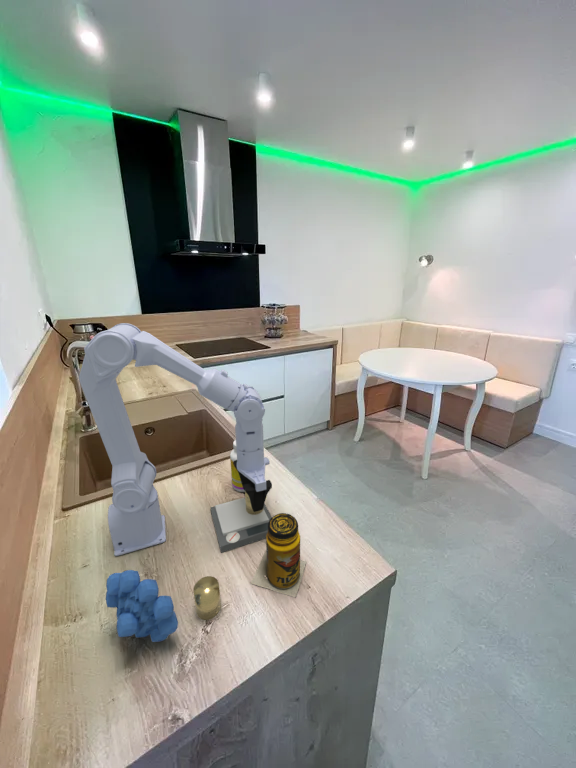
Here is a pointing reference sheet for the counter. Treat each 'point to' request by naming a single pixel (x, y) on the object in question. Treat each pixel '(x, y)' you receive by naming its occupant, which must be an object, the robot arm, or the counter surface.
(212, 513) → the scale
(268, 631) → the counter surface
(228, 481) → the counter surface
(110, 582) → the grapes
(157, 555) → the counter surface
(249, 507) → the cylinder
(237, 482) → the supplement bottle
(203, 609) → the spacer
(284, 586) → the condiment
